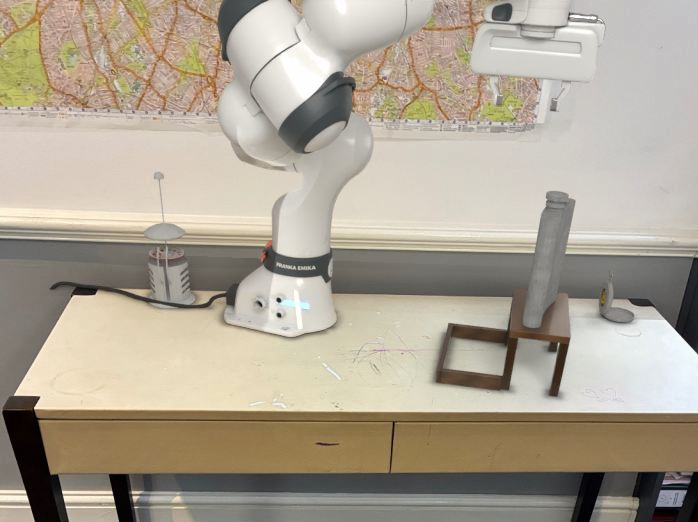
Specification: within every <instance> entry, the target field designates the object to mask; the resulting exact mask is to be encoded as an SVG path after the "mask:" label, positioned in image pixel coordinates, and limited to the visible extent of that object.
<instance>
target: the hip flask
mask: <svg viewBox="0 0 698 522" xmlns="http://www.w3.org/2000/svg"><path fill="white" fill-rule="evenodd" d="M569 195H570V194H569V193H567V192H564V191H561V190H548V191H547V192H546V193H545V199H546V200H545V207H544V209H543V210H542V212H541V214H540V219H539V223H538V224H539V225H538V231H537V237H536V243H535V247H534V248H535V249H534V252H533V258H532V264H531V269H530V275H529V281H528V287H527V289H528V292H527V297H526V303H525V309H524V314H523V320H522V324H523V325H524V326H526V327H528V328H539V327H540V326H541V322H542V317H543V314H544V313H545V311H546V309H547V308H548V307H549V306H550V305H551V304H552V303H553V302H555V301H556V297H557V292H558V291H559V287H560V281H561V276H562V272H563V266H564V262H565V255H566V252H567V247H568V241H569V236H570V232H571V227H572V223H573V216H574V211H575V206H576V202H577V201H576V199H575V198H571V197H570V196H569ZM558 293H559V292H558Z"/></svg>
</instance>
